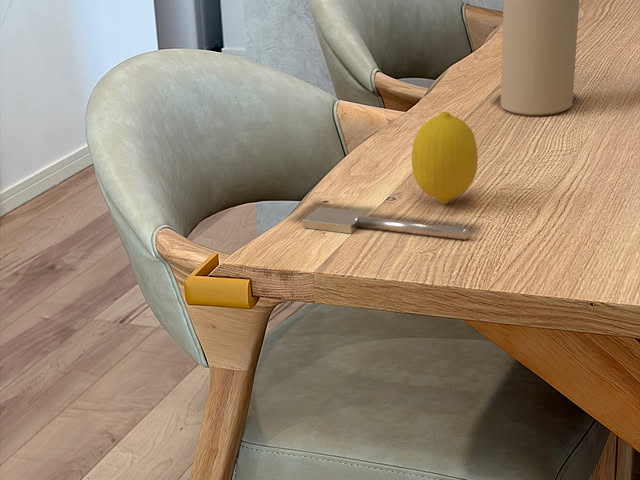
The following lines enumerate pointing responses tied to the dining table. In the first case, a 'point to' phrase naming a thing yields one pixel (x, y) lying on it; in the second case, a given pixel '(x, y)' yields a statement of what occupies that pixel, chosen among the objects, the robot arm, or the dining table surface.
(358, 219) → the silver knife
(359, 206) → the dining table surface
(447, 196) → the lemon
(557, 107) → the travel mug
